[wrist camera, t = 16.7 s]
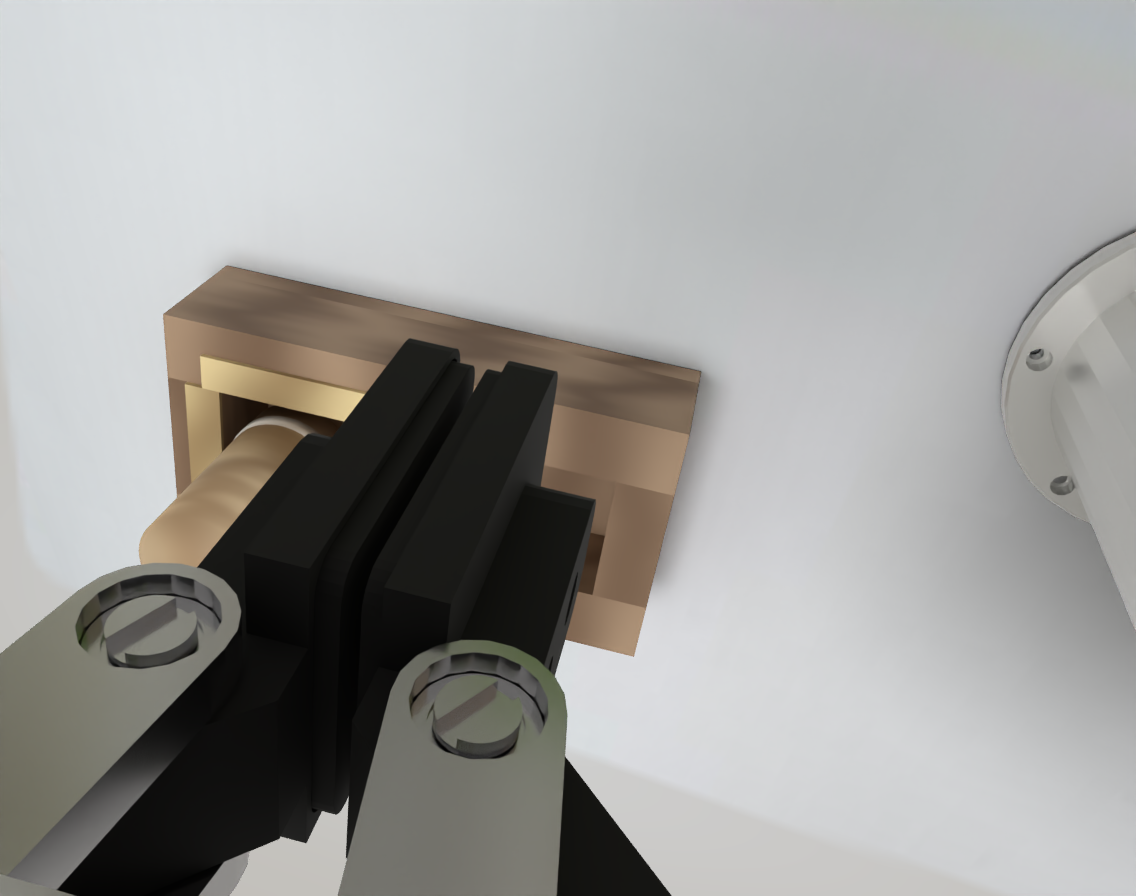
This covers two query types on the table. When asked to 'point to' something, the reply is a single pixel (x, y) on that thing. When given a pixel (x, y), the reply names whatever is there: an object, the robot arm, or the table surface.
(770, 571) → the table surface
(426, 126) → the table surface
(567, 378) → the board
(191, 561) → the peg
